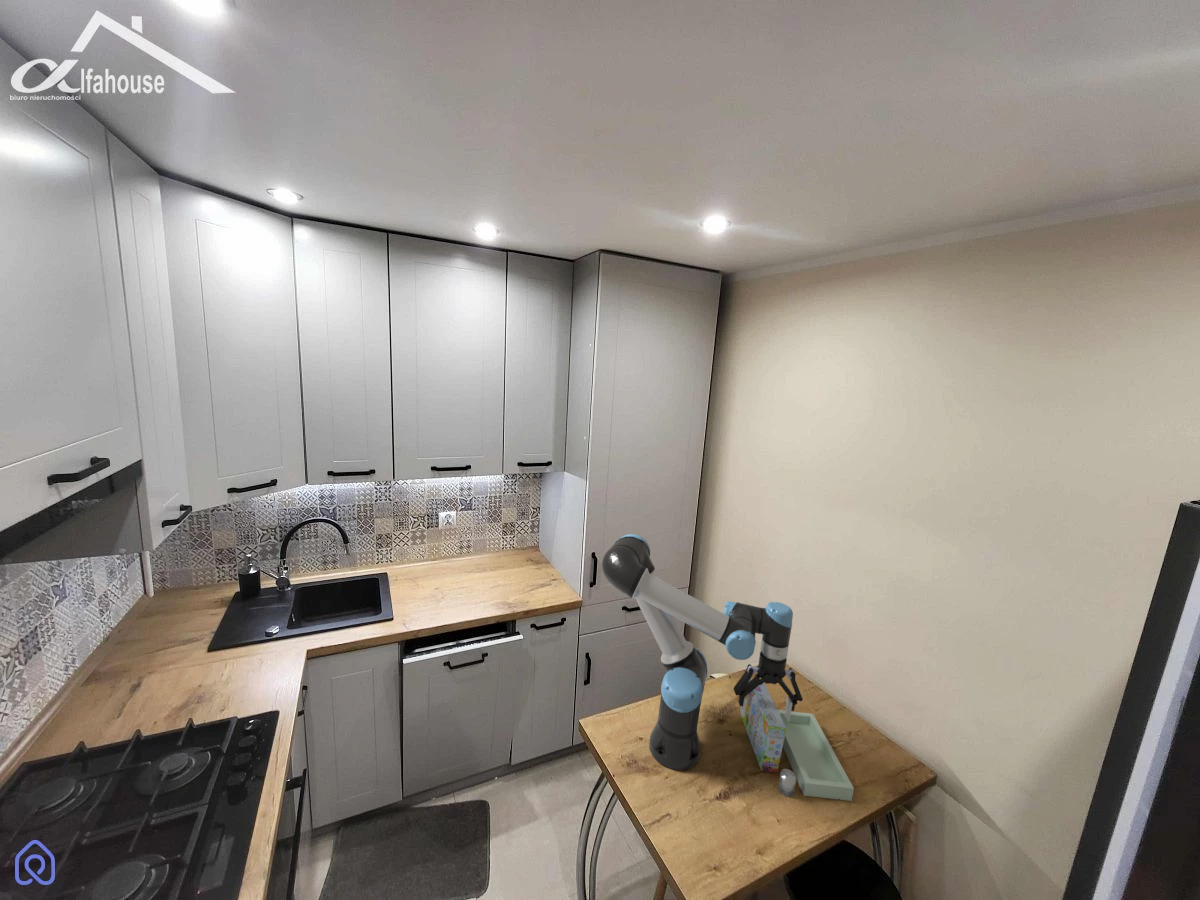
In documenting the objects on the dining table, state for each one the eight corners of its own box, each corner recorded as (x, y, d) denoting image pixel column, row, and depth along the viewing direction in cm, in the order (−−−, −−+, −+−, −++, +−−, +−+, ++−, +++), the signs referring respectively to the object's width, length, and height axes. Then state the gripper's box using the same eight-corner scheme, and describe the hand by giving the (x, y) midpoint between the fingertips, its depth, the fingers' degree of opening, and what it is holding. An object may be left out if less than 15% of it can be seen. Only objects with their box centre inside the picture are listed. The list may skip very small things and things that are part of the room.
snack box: (779, 773, 135) (787, 728, 132) (760, 772, 135) (768, 726, 132) (757, 719, 156) (763, 679, 153) (740, 717, 156) (746, 677, 153)
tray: (803, 795, 128) (805, 783, 128) (771, 720, 156) (773, 709, 155) (851, 800, 128) (854, 788, 127) (811, 724, 155) (812, 713, 155)
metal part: (781, 796, 128) (783, 780, 127) (776, 783, 132) (779, 768, 131) (795, 797, 127) (798, 782, 127) (790, 784, 131) (793, 769, 131)
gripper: (734, 657, 137) (726, 721, 140) (820, 665, 136) (810, 729, 139) (728, 643, 144) (721, 704, 148) (810, 650, 143) (800, 711, 147)
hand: (764, 716), depth 144 cm, fingers open, 13 cm apart
